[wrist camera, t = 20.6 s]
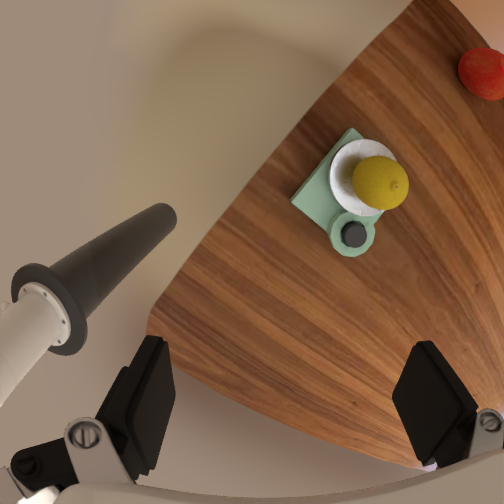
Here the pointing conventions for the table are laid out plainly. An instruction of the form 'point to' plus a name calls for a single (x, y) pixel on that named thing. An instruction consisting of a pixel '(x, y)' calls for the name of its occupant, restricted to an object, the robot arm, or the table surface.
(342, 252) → the scale
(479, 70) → the apple
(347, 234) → the tare button
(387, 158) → the lemon
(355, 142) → the scale weighing pan
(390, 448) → the table surface
